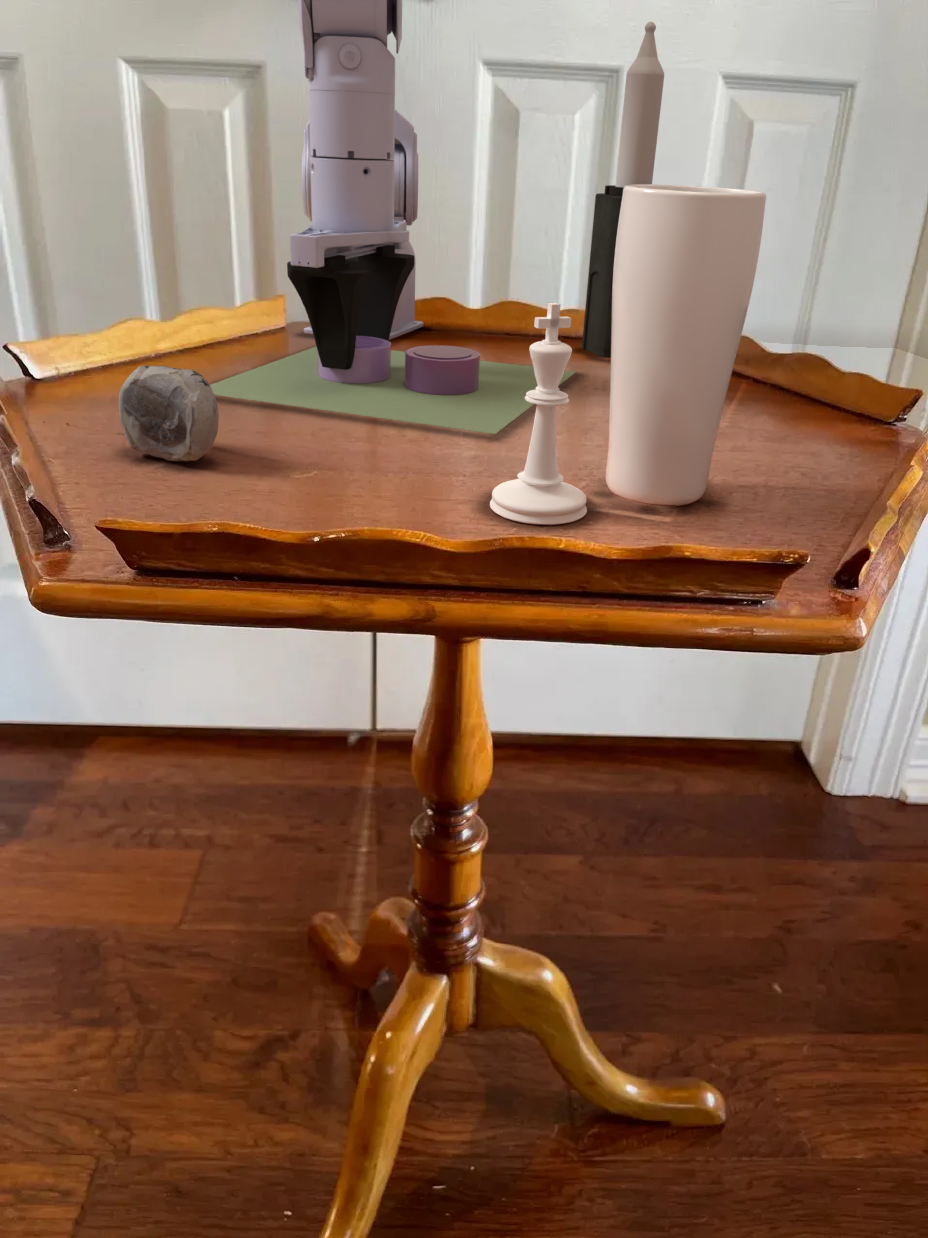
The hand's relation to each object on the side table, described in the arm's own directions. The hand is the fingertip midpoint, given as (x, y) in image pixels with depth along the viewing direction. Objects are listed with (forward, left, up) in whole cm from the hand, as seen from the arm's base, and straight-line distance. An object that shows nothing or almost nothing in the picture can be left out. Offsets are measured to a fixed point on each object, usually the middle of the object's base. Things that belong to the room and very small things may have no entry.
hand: (354, 360), depth 73 cm
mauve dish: (0, +7, -1) cm, 7 cm away
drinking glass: (+16, +25, -2) cm, 30 cm away
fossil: (+22, -1, -2) cm, 22 cm away
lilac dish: (0, 0, -1) cm, 1 cm away
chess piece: (+21, +20, -2) cm, 29 cm away
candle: (-20, +15, -2) cm, 25 cm away
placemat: (0, +3, -1) cm, 4 cm away
